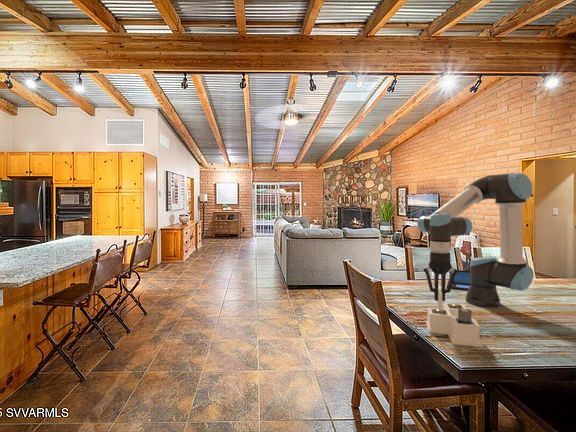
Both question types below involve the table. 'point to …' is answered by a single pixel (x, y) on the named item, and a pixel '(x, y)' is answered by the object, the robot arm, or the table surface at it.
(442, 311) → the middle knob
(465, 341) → the knob panel
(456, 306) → the knob
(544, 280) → the table surface
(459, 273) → the handheld game console
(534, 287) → the table surface
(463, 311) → the knob
